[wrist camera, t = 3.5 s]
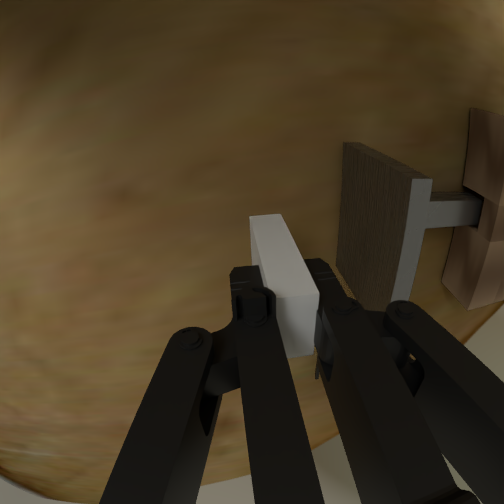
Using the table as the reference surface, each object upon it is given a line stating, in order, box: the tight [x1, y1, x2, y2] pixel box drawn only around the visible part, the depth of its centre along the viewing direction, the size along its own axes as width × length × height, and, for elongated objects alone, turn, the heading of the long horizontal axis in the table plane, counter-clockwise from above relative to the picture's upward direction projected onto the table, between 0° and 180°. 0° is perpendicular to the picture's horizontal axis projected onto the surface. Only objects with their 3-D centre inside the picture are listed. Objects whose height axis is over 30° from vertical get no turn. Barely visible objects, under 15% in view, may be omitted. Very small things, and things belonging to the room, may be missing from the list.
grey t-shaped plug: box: [336, 142, 483, 312], centre depth 16 cm, size 8×10×7 cm
